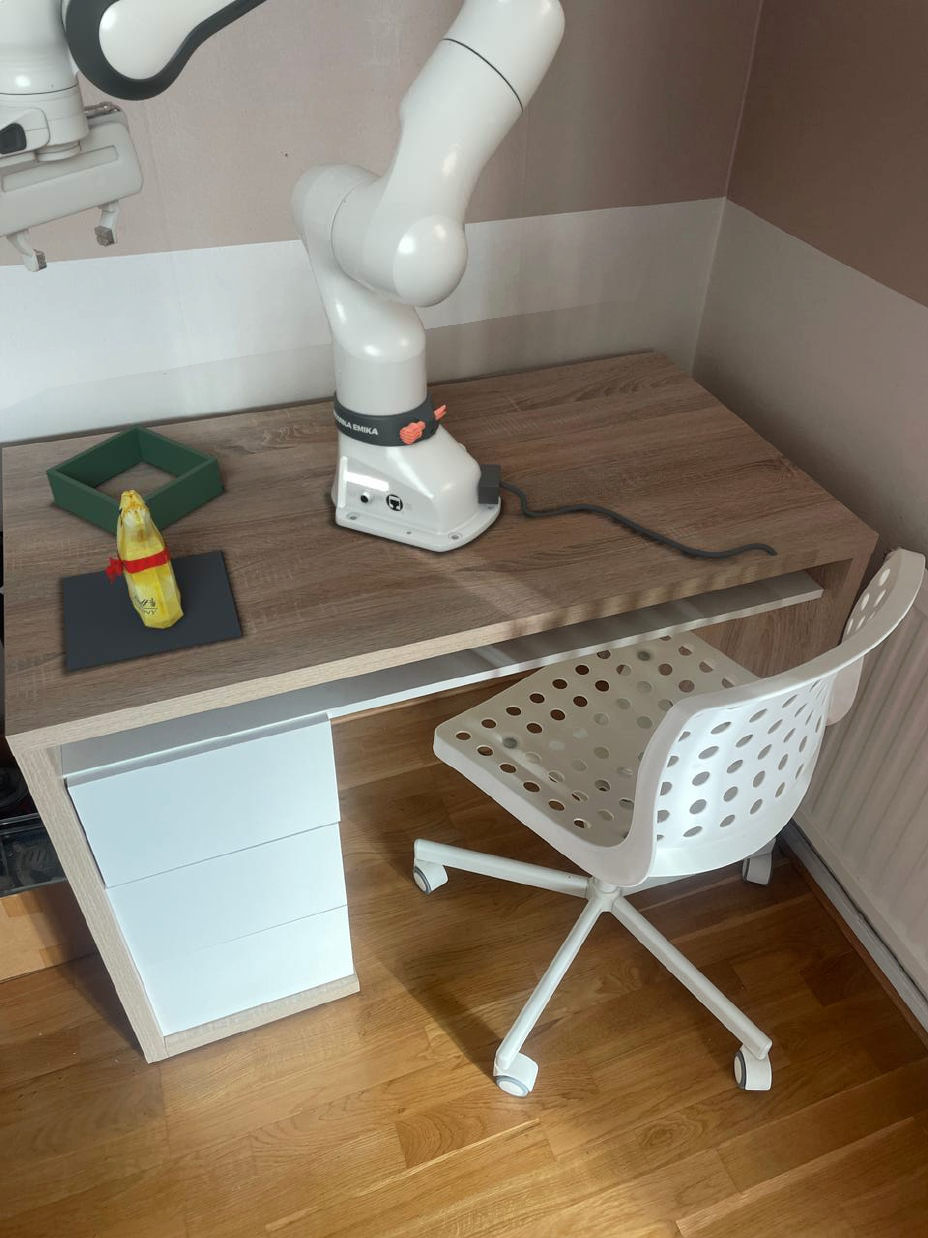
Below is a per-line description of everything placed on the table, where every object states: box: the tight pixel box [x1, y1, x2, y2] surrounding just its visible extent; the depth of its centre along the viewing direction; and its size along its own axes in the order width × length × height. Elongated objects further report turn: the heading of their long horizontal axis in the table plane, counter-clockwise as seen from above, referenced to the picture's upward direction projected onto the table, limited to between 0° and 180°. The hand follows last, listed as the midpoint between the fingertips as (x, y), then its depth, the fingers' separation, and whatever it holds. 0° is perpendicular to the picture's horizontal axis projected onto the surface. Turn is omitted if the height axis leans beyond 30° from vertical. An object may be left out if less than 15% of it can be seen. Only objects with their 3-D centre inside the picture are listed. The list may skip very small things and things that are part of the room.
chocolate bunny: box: [104, 489, 184, 628], centre depth 104 cm, size 7×11×15 cm, turn 27°
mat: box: [62, 549, 243, 672], centre depth 109 cm, size 18×16×1 cm
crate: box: [45, 423, 224, 536], centre depth 124 cm, size 15×15×5 cm
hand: (73, 256), depth 106 cm, fingers open, 8 cm apart
